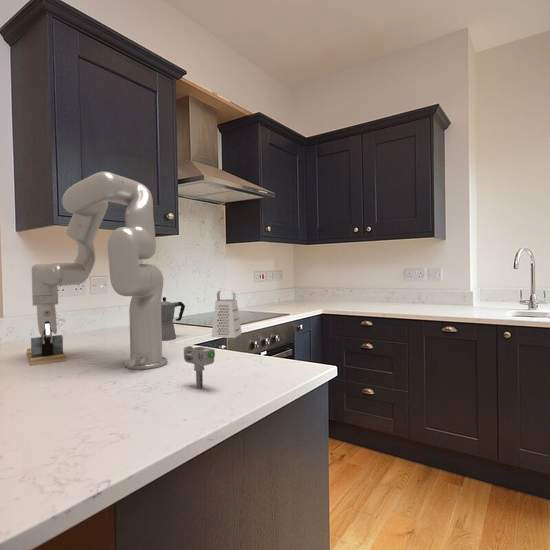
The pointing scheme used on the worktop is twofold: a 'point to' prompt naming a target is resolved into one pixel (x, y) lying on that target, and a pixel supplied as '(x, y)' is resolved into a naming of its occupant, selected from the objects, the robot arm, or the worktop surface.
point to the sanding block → (37, 343)
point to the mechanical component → (199, 361)
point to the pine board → (45, 358)
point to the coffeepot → (169, 318)
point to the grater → (226, 318)
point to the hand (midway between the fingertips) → (47, 353)
